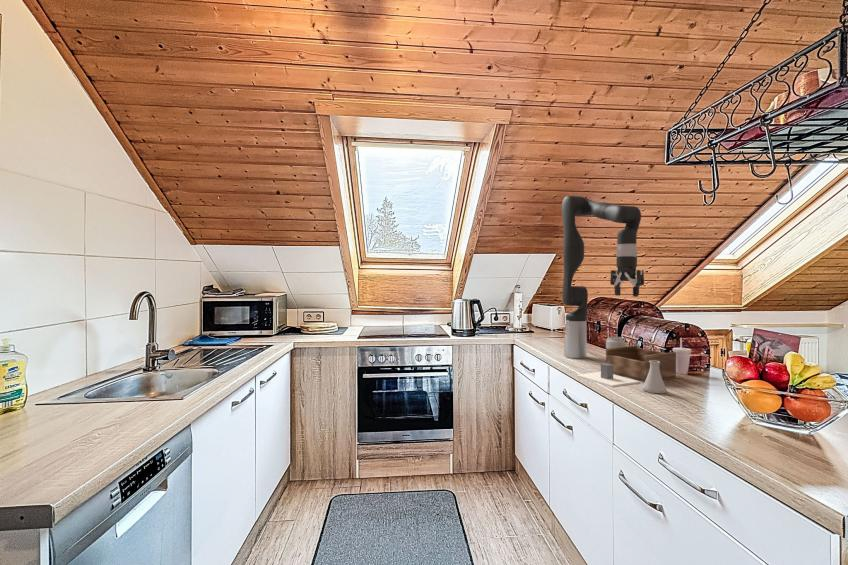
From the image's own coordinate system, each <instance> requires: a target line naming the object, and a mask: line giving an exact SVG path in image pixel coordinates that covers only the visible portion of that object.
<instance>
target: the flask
mask: <svg viewBox="0 0 848 565" xmlns="http://www.w3.org/2000/svg"><path fill="white" fill-rule="evenodd" d="M649 362H650V369H649V373H648V376H647V378H646V381H645V382H643V385H642V387H641V388H642V390H643V391H645V392H647V393H651V394H666V393H668V391H667V388H666V386H665V382H664V380H662V377H661V374H660V369H659V364H660V361H654V360H651V361H649Z"/></svg>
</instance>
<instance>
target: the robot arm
mask: <svg viewBox="0 0 848 565" xmlns="http://www.w3.org/2000/svg"><path fill="white" fill-rule="evenodd" d="M561 215H562V226H563V228H562V229H563V247H562V249H563V252H562V253H563V278H562V279H563V280H562V294H561V295H562V296H561V298H562V303H563V305H564V306H566V307H577V308H576V309H574V310H573V311H571V312H568V313H567V314H566V315H565V335H564V336H563V338H564V344H563V347H564V349H563V354H564V356H565V357H567V358H571V359H587V349H588V348H587V342H588V341H587V338H588V337H587V331H588V330H587V329H588V328H587V317H588V302H589V301H588V299H589V294H588V289H587V287H585V286H583V285H582V286H580V285H579V286H577V285H576V286H575V285H574V286H572V282H573V278H574V276H575V274H576V272H577V271H578V269H579V268H580V266H581V265H582V263H583V262H584V259H585V243H584V240H583V238H582V236H581V234H580V232H579V231H578V228H577V225H576V217H581V216H593V217H596V218H597V219H600V220H605V221H611V222H613V223H618V224H625V226H624V229H621V230H618V232H617V235H616V236H617V237H616V238H617V239H616V240H617V241H616V243H617V244H616V268H617V269H613V270H610V285H611V286H614V295H615V296H618V297H619V296H621V286H622V283H624V282H625V281H627V282H629V283H631V285H632V286H633V287H632V297H634V298H635V297H639V295H640V287H641V286H644V285H645V274H644V271H645V270H643V269H637V267H638V246H637V244H638V243H637V238H638V236H637V233H638V230H639V228H640V224H641V219H642V212H641V209H639V207H638V206H635V205H634V206H633V205H621V204H619V205H618V204H615V203H610V202H609V203H608V202H605V201H603V202H600V201H594V200H592V199H590V198H587V197H584V196H579V195H567V196H565V197H564V198H563V200H562V203H561Z"/></svg>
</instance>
